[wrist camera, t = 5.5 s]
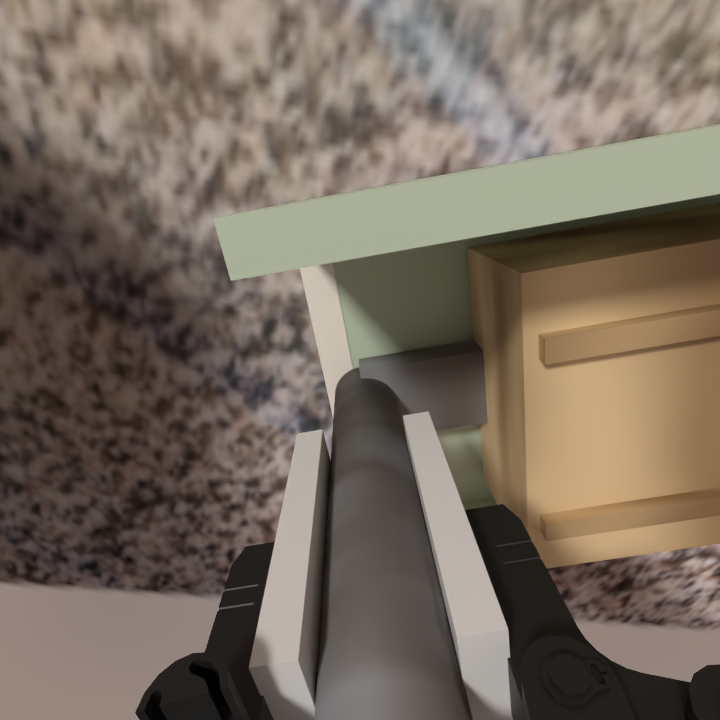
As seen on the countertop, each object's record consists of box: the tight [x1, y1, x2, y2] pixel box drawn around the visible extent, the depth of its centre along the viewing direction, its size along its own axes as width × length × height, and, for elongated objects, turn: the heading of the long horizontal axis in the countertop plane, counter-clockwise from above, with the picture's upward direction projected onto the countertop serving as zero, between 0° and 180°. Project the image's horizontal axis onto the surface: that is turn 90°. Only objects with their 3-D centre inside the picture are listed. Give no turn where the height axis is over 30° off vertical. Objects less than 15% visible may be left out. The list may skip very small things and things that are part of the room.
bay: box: [213, 124, 720, 510], centre depth 13 cm, size 22×15×9 cm
